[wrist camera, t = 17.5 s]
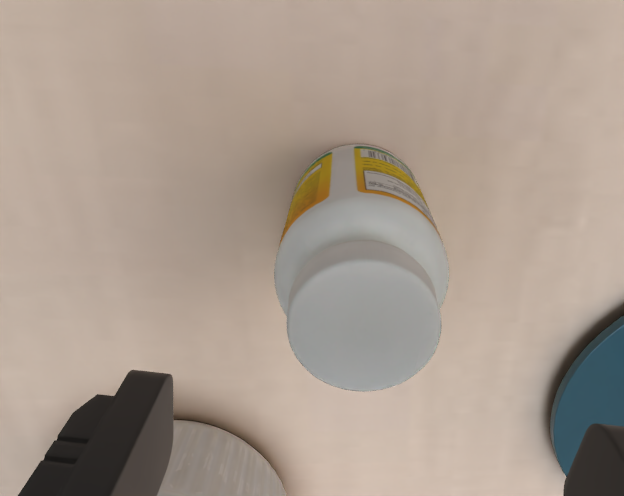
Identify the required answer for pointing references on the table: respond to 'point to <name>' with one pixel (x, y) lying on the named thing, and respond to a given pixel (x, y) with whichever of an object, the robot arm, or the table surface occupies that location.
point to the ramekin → (216, 465)
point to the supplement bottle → (361, 270)
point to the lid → (589, 393)
